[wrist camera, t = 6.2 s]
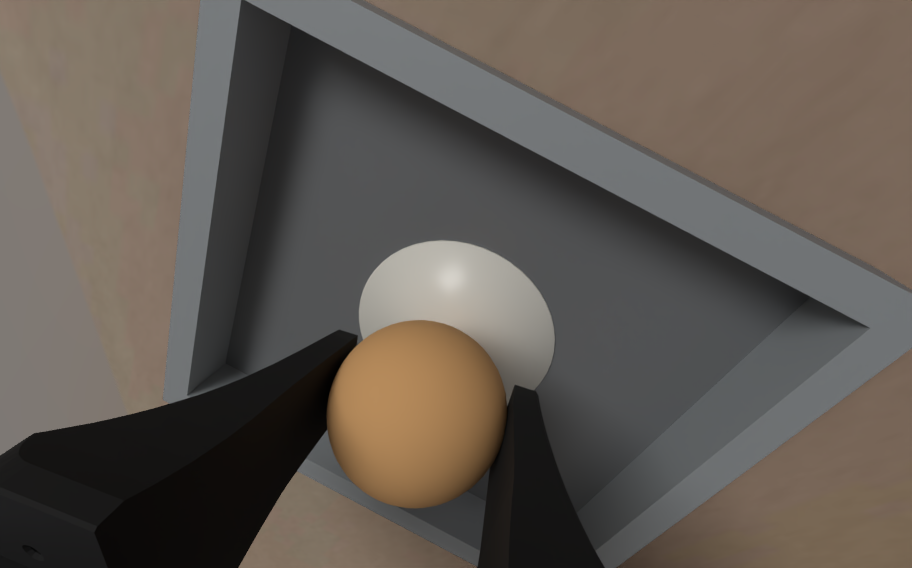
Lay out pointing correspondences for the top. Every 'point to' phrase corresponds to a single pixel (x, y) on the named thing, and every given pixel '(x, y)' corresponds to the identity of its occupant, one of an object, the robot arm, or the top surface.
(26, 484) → the robot arm
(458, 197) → the grey serving tray
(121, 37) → the top surface
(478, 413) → the ball
